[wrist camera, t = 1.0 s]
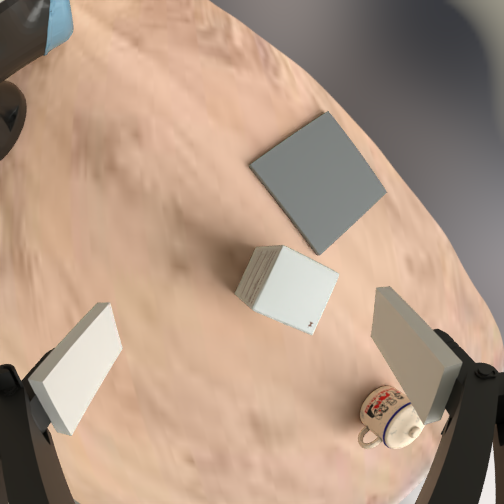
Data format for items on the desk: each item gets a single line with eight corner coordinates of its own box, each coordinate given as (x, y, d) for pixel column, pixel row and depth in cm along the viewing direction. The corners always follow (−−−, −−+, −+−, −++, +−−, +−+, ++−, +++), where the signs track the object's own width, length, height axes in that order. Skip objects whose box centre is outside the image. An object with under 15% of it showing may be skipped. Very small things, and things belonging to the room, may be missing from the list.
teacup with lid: (389, 374, 48) (431, 397, 37) (403, 404, 49) (441, 428, 38) (337, 417, 46) (371, 451, 35) (355, 444, 47) (388, 477, 36)
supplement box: (300, 267, 44) (342, 274, 32) (278, 314, 44) (313, 338, 31) (255, 244, 43) (283, 242, 31) (231, 293, 42) (250, 311, 30)
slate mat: (248, 166, 43) (250, 164, 42) (325, 113, 45) (328, 110, 44) (316, 255, 45) (319, 255, 44) (383, 193, 47) (386, 192, 46)
